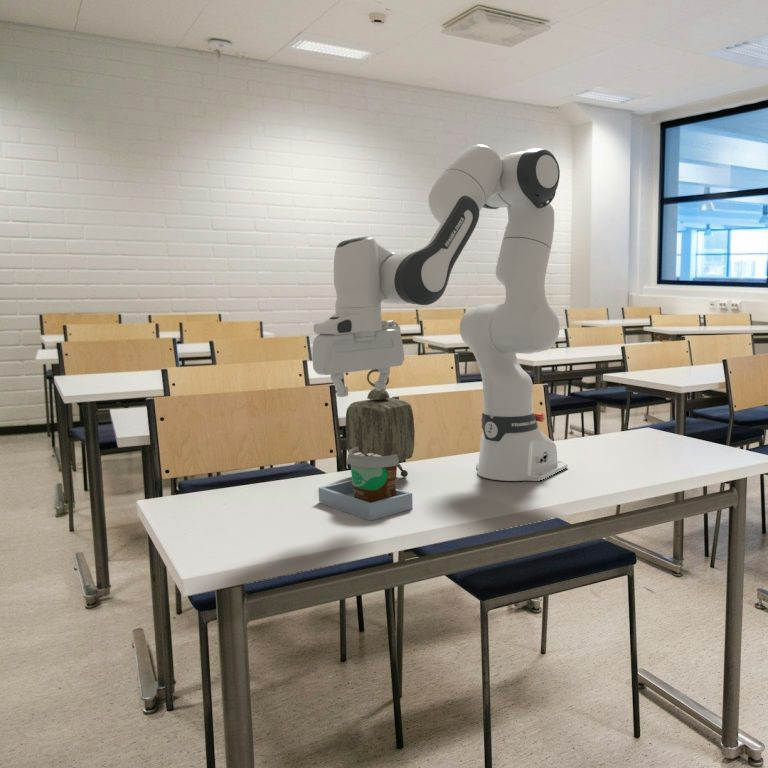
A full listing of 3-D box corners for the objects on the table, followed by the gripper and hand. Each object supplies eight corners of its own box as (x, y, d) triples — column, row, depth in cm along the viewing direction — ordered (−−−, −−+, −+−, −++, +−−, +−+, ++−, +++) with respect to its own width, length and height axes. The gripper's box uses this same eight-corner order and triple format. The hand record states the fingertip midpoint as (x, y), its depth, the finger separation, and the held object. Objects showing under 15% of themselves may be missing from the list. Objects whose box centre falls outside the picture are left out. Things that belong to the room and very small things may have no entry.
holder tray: (360, 492, 148) (359, 478, 148) (412, 508, 135) (412, 493, 135) (319, 502, 141) (318, 487, 141) (370, 520, 129) (369, 504, 128)
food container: (335, 499, 141) (333, 451, 140) (357, 493, 145) (356, 446, 144) (378, 511, 132) (376, 460, 131) (400, 504, 136) (399, 454, 135)
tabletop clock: (415, 477, 160) (413, 368, 157) (388, 485, 153) (385, 372, 150) (371, 467, 170) (368, 365, 167) (344, 475, 163) (340, 369, 160)
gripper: (389, 319, 143) (391, 386, 145) (306, 325, 130) (310, 398, 132) (409, 319, 138) (412, 388, 140) (325, 325, 125) (329, 401, 127)
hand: (361, 393), depth 136 cm, fingers open, 8 cm apart
